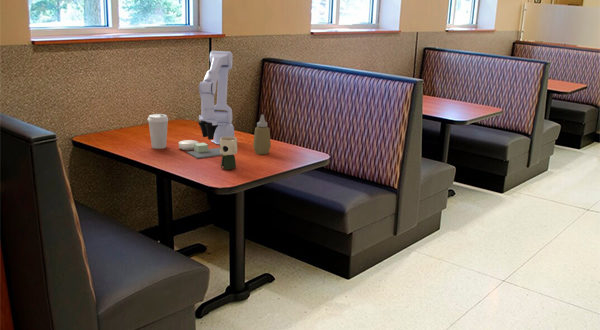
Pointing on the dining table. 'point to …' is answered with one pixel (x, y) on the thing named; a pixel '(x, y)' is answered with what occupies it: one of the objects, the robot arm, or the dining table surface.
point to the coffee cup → (158, 130)
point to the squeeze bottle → (262, 137)
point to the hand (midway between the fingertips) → (208, 138)
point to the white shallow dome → (187, 144)
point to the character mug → (228, 152)
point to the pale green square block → (201, 147)
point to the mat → (206, 153)
